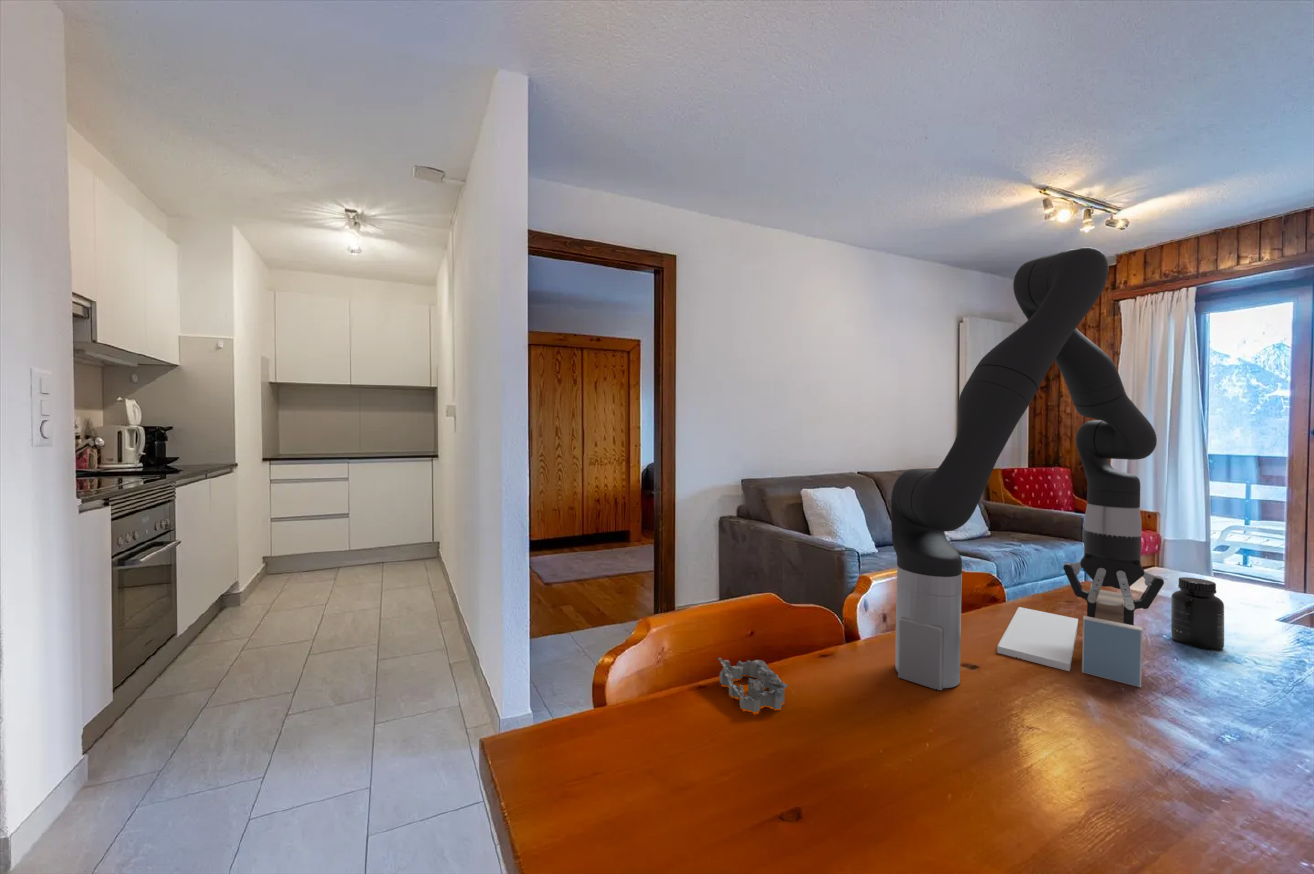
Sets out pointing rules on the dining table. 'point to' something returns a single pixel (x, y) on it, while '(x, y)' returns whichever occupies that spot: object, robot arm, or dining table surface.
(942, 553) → the robot arm
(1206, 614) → the supplement bottle
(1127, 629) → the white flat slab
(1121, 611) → the brown wooden block
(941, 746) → the dining table surface
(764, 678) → the cookie cutter
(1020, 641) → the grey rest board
